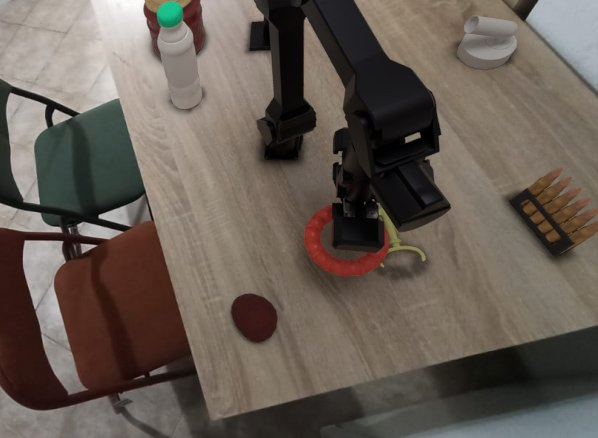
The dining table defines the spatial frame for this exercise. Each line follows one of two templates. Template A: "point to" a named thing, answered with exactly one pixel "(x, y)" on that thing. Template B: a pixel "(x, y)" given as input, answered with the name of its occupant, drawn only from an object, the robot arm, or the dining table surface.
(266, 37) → the black angled piece
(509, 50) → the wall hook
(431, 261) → the dining table surface
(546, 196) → the ammunition clip
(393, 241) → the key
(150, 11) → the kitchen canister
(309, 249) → the red ring
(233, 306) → the potato
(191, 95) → the water bottle
